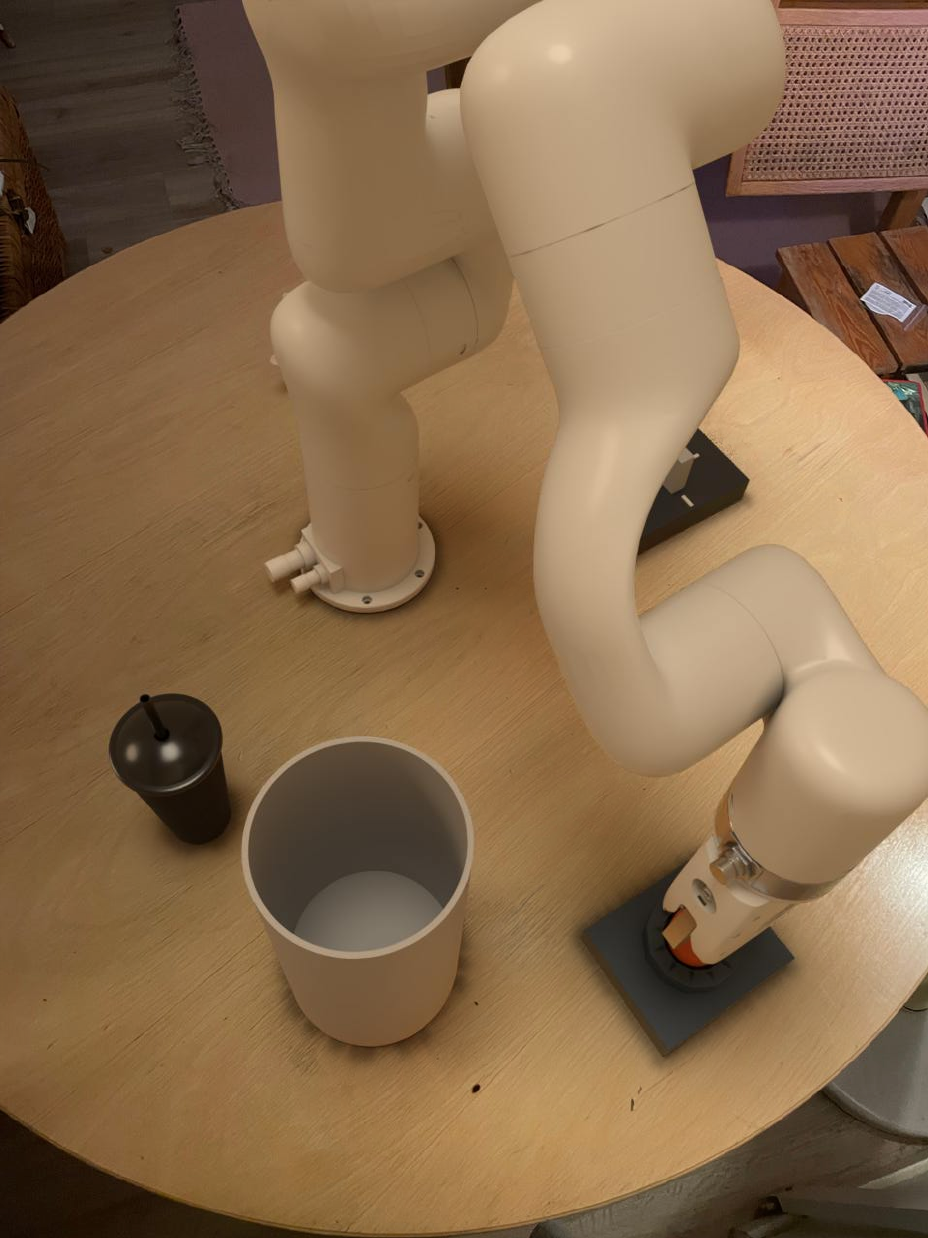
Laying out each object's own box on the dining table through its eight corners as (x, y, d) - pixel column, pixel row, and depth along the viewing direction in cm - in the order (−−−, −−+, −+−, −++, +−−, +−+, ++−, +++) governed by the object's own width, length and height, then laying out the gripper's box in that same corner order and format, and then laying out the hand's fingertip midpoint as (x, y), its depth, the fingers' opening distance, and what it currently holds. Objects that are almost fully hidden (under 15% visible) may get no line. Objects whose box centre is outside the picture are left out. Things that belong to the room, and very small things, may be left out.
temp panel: (630, 559, 98) (636, 539, 95) (568, 488, 102) (572, 467, 99) (742, 499, 102) (751, 478, 99) (678, 433, 106) (684, 412, 104)
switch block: (662, 1057, 74) (674, 1047, 71) (580, 938, 79) (587, 923, 75) (786, 965, 78) (803, 951, 75) (701, 856, 82) (713, 839, 79)
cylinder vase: (267, 914, 79) (213, 782, 57) (420, 853, 82) (422, 706, 61) (321, 1078, 73) (283, 998, 52) (484, 1006, 76) (511, 902, 55)
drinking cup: (207, 881, 80) (150, 776, 63) (131, 829, 82) (56, 714, 65) (268, 802, 83) (230, 683, 66) (194, 755, 85) (139, 627, 68)
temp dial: (684, 487, 99) (695, 454, 95) (671, 494, 98) (682, 461, 94) (651, 453, 101) (661, 419, 97) (639, 459, 100) (648, 426, 96)
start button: (690, 978, 74) (695, 972, 72) (655, 930, 76) (659, 923, 74) (732, 947, 75) (739, 941, 74) (697, 901, 77) (702, 894, 75)
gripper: (728, 962, 52) (658, 1035, 68) (934, 814, 57) (824, 913, 73) (637, 842, 56) (590, 937, 71) (839, 711, 60) (753, 827, 76)
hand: (708, 925), depth 72 cm, fingers closed
